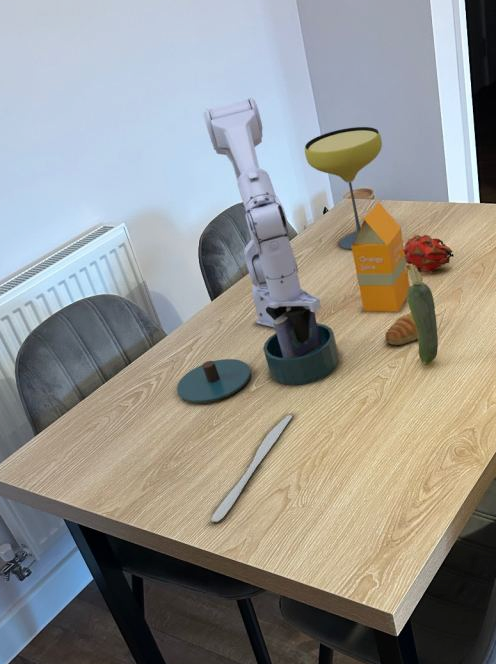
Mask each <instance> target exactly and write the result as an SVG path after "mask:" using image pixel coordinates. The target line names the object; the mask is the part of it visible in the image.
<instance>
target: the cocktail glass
mask: <svg viewBox="0 0 496 664" xmlns="http://www.w3.org/2000/svg"><path fill="white" fill-rule="evenodd" d="M382 147H383V141H382V136H381V133H380V131H379V130H378V129H377V128H375V127H370V126H356V127H347V128H342V129H337V130H333V131H329V132H326V133H324V134H320V135H318V136H315V137H313V138H312V139H310V140H309V141H307V142H306V144H305V145H304V155H305V159H306V161H307V163H308V165H309V166H310V167H311V168H313V169H315V170H316V171H318V172H321V173H325V174H330V175H334V176H337V177H339V178H341V180H343V181H344V182H345V183H347V184H348V187H349V192H350V197H351V202H352V208H353V215H354V218H355V219H354V220H355V226H356V227H355V229H356V232H353V233H350V234H347V235H346V236H344V237H343V238H342V239H340V241H339V247H341V248H343V249H346V250H352V247H351V246H352V245H353V243H354V241H355V239H356V236H357V234H358V232H359V230H360V228H361V224H360V220H359V214H358V211H357V205H356V201H355V196H354V195H355V194H354V189H353V185H352V184H353V182H354V181H355V179H356V177H357V175H358V173H360V171H361V170H363V169H364V168H365V167H366V166H368V165H369V164H370V163H371V162H373V161H374V160H375V159H376V158H377V157H378V155H379V154H380V152H381V151H382Z"/></svg>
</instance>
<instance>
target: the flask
mask: <svg viewBox="0 0 496 664" xmlns="http://www.w3.org/2000/svg"><path fill="white" fill-rule="evenodd" d="M290 309H293V307H292V306H287V309H286V310H287V312H288V311H289V310H290ZM285 313H286V312H285ZM285 313H284V314H282V315H281V316H280V317H278V318H277V319H276V320H275V321H274V322H273V324H274V327H275V328H274V327H273V328H274V330H275V333H277V337H278V341H279V344H280V347H281V351H282V355H283V358H294V357H300V356H304V355H307V354H309V353H310V352H312V351H313V350H315V349H317V348H318V347H320V346H321V345H322V343H321V339H320V335H319V331H318V326H317V323H318V322H317V317H316V314H315V313H316V312H312V314H311V318H310V325H309V339H308V340H306V341H305V342H304V343H300V342H299V341H298V339H297V336H296V333H295V330H294V327H293V325H292V323H291V322H290V320H289V319H288V318H287V316H286V315H285Z"/></svg>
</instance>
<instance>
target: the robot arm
mask: <svg viewBox="0 0 496 664" xmlns="http://www.w3.org/2000/svg"><path fill="white" fill-rule="evenodd" d="M202 114H203V119H204V122H205V125H206V129H207V132H208V135H209V139H210V142H211V145H212V147H213V150H214V151H215V153H216V154H217V155H224V156H226V157H227V158H228V161H230V163H231V164H232V167H233V171H234V175H235V178H236V183H237V188H238V190H239V191H238V192H239V194H240V197H241V200H242V204H243V207H244V211H245V215H244V216H245V221H246V224H247V228H248V231H249V234H250V237H251V240H250V241H249V242H248V243H247V245H246V246H245V247H244V251H243V254H244V257H245V263H246V267H247V271H248V273H249V277H250V280H251V283H252V288H251V298H252V301H253V305H254V308H255V311H256V315H257V320H256V322H255V323H256V324H258V325H263V326H267V327H271V328H274V329H275V327H274V324H273V322H274V321H275V320H276V319H277V318H278V317H280V316H281V315H282V314H284V313H285V312H286V313H285V315H286V316H287V318H288V319H289V320H290V322H291V323H292V325H293V327H294V330H295V333H296V336H297V339H298V341H299V342H300V343H304V342H305V341H306V340H308V339H309V325H310V318H311V314H312V312H314V313H316V312H318V311H319V310H320V309H321V308H322V302H321V300H320V297H318V296H315V295H312V294H311V293H309V292H307V291H306V290H304V289H302V288H301V283H300V279H299V276H298V275H299V274H298V273H299V267H298V263H297V259H296V256H295V252H294V250H293V247H292V244H291V240H290V239H289V235H290V227H289V221H288V218H287V214H286V211H285V209H284V206H283V204H282V203H281V201H280V199H279V197H278V196H276V192H275V190H274V189H275V188H274V187H273V184H272V181H271V178H270V175H269V173H268V172H267V171H266V170H264V169H262V168H260V165H259V161H258V156H257V152H256V147H257V146H259V145H260V144H261V143H262V142H263V141H262V140H263V128H264V127H263V122H262V119H261V118H262V117H261V115H260V111H259V108H258V104H257V102H256V100H255V99H253V97H248V99H244V100H240V101H237V102H232V103H229V104H225V105H221V106H216V107H213V108H210V109H208V108H205V109H204V112H203V113H202ZM285 231H286V232H285ZM287 306H292V307H293V309H290V310H289V311H288V312H287V310H286V309H287Z"/></svg>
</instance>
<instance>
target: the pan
mask: <svg viewBox="0 0 496 664" xmlns="http://www.w3.org/2000/svg"><path fill="white" fill-rule="evenodd" d="M317 326H318V331H319V335H320V339H321V343H322V345H321V346H320V347H318V348H317V349H315V350H313V351H312V352H310V353H309V354H307V355H304V356H300V357H294V358H283V355H282V351H281V347H280V344H279V341H278V337H277V333H276V332H275V333H273V334H272V335H270V337H268V339H267V340H266V341H265V342H264V345H263V348H262V350H263V353H264V356H265V360H266V363H267V367H268V370H269V373H270V376H271V378H272V379H273V380H274V381H275V382H277V383H279V384H282V385H288V386H298V385H306V384H310V383H313V382H317V381H319V380H321V379H323V378H325V377H327V376H329V375H330V374H332V372H333V371H335V369H336V368H337V367H338V365H339V363H340V355H339V350H338V346H337V341H336V337H335V333H334V331H333V330H332V328H331V327H330V326H328V325H326V324H323V323H318V322H317Z"/></svg>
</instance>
